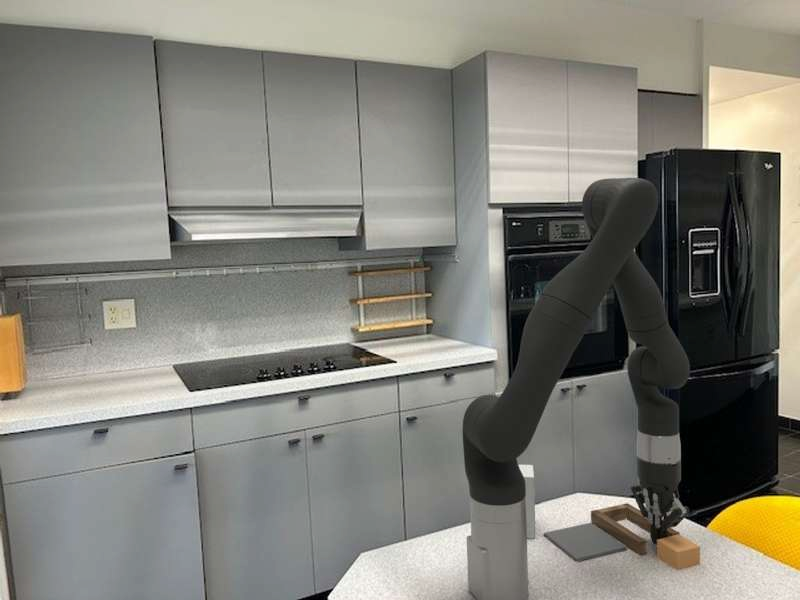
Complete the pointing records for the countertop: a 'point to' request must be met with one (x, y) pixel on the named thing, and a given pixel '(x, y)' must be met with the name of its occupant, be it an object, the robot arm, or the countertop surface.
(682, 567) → the block
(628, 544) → the cubby
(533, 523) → the supplement box
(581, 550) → the mat
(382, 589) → the countertop surface
